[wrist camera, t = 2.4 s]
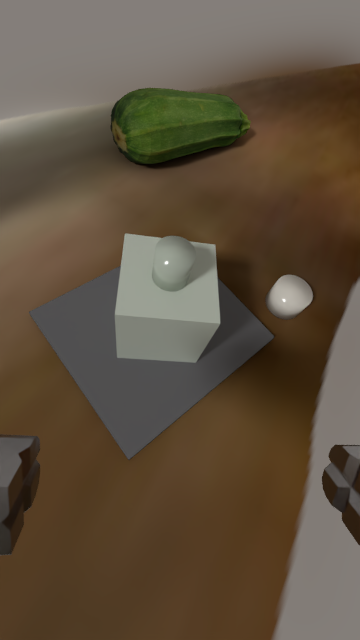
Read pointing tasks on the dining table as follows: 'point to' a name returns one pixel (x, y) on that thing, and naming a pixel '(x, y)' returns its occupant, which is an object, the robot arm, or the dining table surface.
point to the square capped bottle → (166, 299)
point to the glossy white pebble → (288, 297)
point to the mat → (141, 360)
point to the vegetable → (174, 123)
